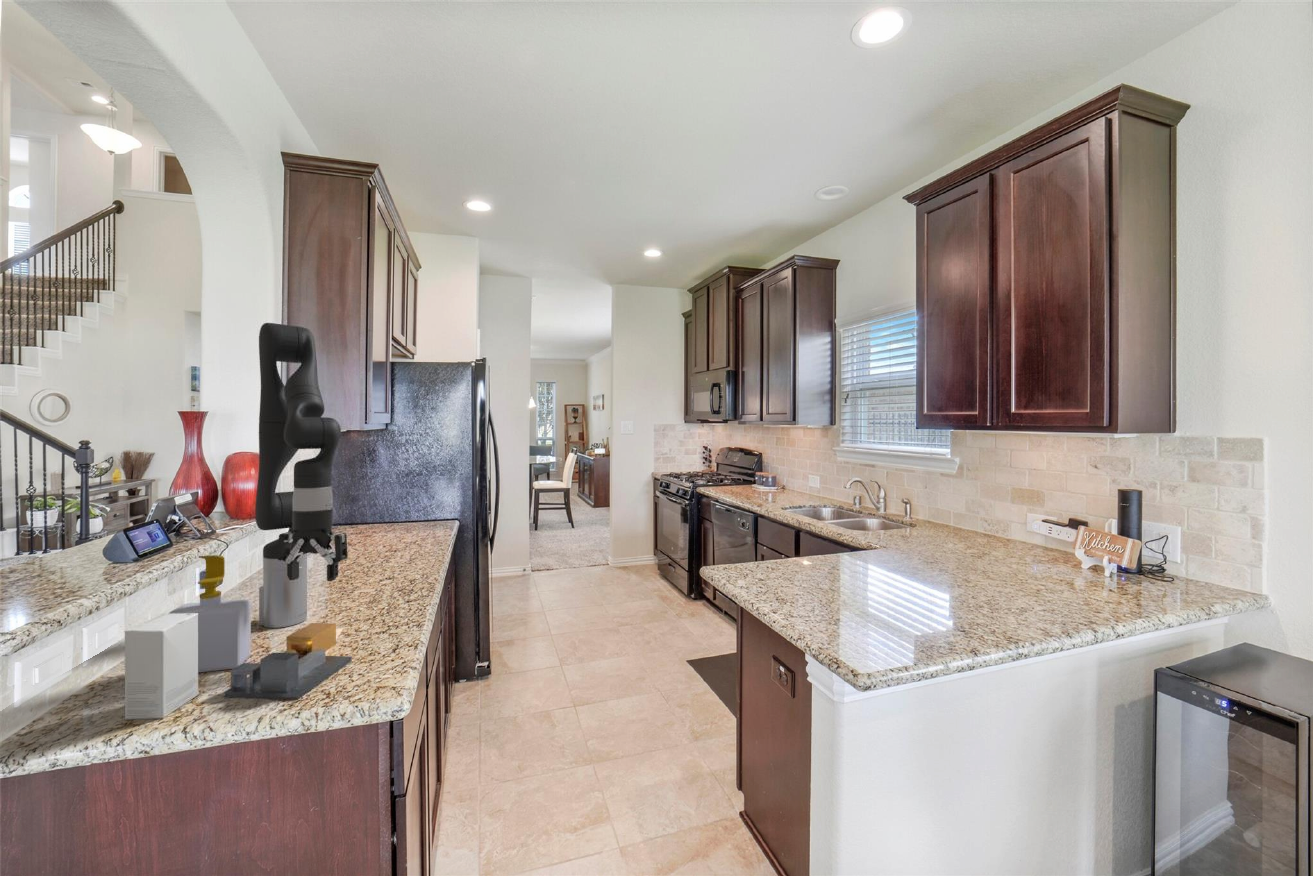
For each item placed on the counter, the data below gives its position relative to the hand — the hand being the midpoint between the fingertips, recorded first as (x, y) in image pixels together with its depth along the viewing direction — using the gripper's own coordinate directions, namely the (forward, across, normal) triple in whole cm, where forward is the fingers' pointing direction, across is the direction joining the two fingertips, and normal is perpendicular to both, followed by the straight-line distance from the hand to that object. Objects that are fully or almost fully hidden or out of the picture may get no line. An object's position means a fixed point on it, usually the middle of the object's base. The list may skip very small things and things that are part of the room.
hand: (312, 579), depth 117 cm
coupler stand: (+16, +4, -12) cm, 21 cm away
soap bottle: (+16, -16, -8) cm, 24 cm away
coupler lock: (+16, 0, 0) cm, 16 cm away
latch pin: (+15, 0, -9) cm, 18 cm away
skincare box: (+16, -10, -24) cm, 31 cm away
